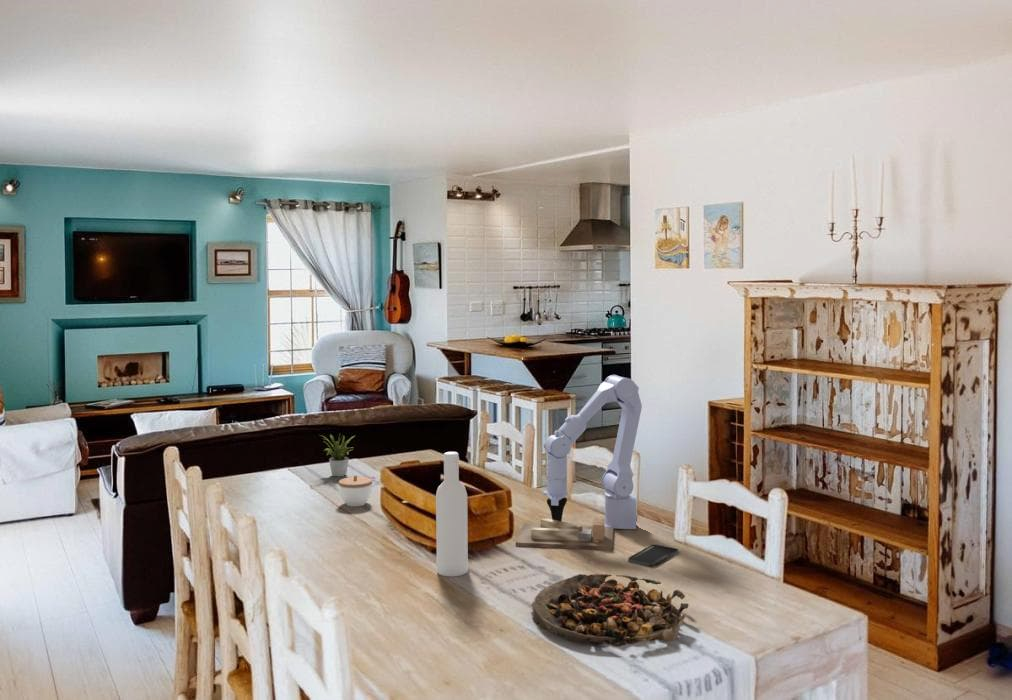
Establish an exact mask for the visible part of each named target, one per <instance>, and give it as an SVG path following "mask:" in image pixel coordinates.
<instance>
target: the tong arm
mask: <svg viewBox="0 0 1012 700" xmlns="http://www.w3.org/2000/svg"><path fill="white" fill-rule="evenodd" d="M540 524H541V528H559V529H579V531H582V526H583V525H580V524H575V523H571V522H566V521H562V520H561V521H557V520H553V519H552V518H548V517H547V518H546V517H543V518H541V519H540Z"/></svg>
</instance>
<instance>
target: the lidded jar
mask: <svg viewBox="0 0 1012 700" xmlns="http://www.w3.org/2000/svg"><path fill="white" fill-rule="evenodd" d="M372 490H373V479H372V478H370V477H366V476H358V475H356V474H354V475H353V476H350V477H345V478H341V479H340V480H338V491H339V495H340V498H341V501H342V502H344V504H345V505H346V506H348V507H362V506H365V505H366V503H367V502H368V501H369V499H371V495H372Z"/></svg>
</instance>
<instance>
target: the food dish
mask: <svg viewBox="0 0 1012 700" xmlns="http://www.w3.org/2000/svg"><path fill="white" fill-rule="evenodd" d="M608 577H612V574H608V573H605V574H603V573H601V574H600V573H593V574H588V575H587V574H582V573H581V574H580V573H579V574H575V575H573V576H570V577H567V578H563V579H562V580H559V581H556V582H554V583H552V584H549V585H548V586H545V587H544V588H542V589H541V590H540V591H539V592H538V593H537V594H536V596H535V597H534V601H533V602H532V603H531V604H530V605H531V607H532V612H531V619H532V622H533V623H534V624H536V625H539V626H540V628H541V629H542V630H546V631H549V632H551V633H553V634H554V635H556V636H557V637H562V638H565V639H566V640H568V641H571V642H575V643H579V644H593V645H598V646H600V645H604V644H608V645H611V646H614V647H621V646H625V645H627V644H629V645H633V644H637V643H639V642H640V643H641V642H646V641H650V642H651V641H653V642H654V641H656V640H657V641H658V640H660V641H663V642H671V641H674V640H677V638H678V635H679V632H680V627H681V626H682V624H683V623H684V620H685V618H686V617H687V615H686V614H685V613H684V614H682V612H683V611H684V610H685V609H686V610H687V609H688V607H689V603H680V607H679V608H676V606H675V605H673V604H672V600H673V599H674V598H675V597H678V598H680V600H683V599H685V597H686V595H685V594H684V593H683V592H682V591H680V590H679V589H677V590H676V589H675V590H674V591H673V594H672V595H671V594H670V593H668V594H667V595H666V598H665V597H664V596H663V590H660V591H658V590H657V589H655V588H653V589H650V590H649V591H648V592H647V593H646V592H645V591H644V590H642V589H640V584H639V583H638V582H637V581H638V580H641V581H644V582H645V583H646V584H653V585H661V584H662V582H661V581H660V580H655V579H648V578H638V577H636V576H631V575H622V574H621V575H619V574H616V575H615V577H623V578H626V579H628V580H629V579H630V581H629V582H628V584H627V586H625V585H623V584H622V583H618V581H617V580H616V579H613V578H612V579H608V580H607V578H608Z"/></svg>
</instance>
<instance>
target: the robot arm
mask: <svg viewBox="0 0 1012 700" xmlns="http://www.w3.org/2000/svg"><path fill="white" fill-rule="evenodd" d="M639 389H640V388H639V386H638V385H637V384H636V382H635V381H634V380H633V379H632V378H629V377H624V376H619V375H617V374H611V375H609V376H607V377H606V378H605V379H604V381H602V382H601V383H600V384H599V385H598V388H597V390H596V391H595V392H594V393H593V395H592V396H591V397H590V398H589V400H588V401H587V402H586V404H585V405H584V406H583V407H582V408H581V410H580V411H579V412H578V413H577V414H571V415H570V416H566V418H565V419H564V423H563V424H561V426H560V427H559V428H558V430H557V429H555V431H554V432H553V433H554V434H552V435H549V436H547V438H546V440H545V443H544V444H543V448H544V450H545V452H546V453H547V454H546V457H547V459H546V463H547V464H546V490H544V491H542V495H543V496H547V497H548V498H547V499H546V503H547V504H546V505H547V506H548V507H549V510H550V514H551V519H553V520H557V521H562V520H563V513H564V509H565V506H566V504H567V501H568V498H567V497H568V496H569V493H568V454H570V452H571V448H572V445H573V444H574V443H575V442H576V441H577V440H578V438H579V437H580V436H582V434H583V433H584V432H585V431H586V429H587V422H588V421H589V420H590V419H592V418H593V416H594V415H595V414H597V413H598V411H599V410H600V409H601V408H603V406H604V405H606V404H608V403H615V402H616V403H618V405H619V406H620V408H621V410H622V411H621V414H620V419H619V424H618V429H617V435H616V439H615V444H614V449H613V450H614V451H613V454H612V460H611V461H610V462H609V464H608V465H607V467H606V470H605V472H604V474H603V475H602V477H601V485H602V487H603V488H604V490H605V492H604V519H605V527H613V530H615V529H616V530H617V529H618V530H620V529H621V530H637V522H638V515H637V496H635V495H631V494H632V492H633V491H634V481H633V476H634V473H633V470H632V467H631V462H632V457H633V453H634V448H635V442H636V437H637V433H638V428H639V424H640V418H641V412H642V407H643V405H642V402H641V398H640V393H639Z"/></svg>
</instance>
